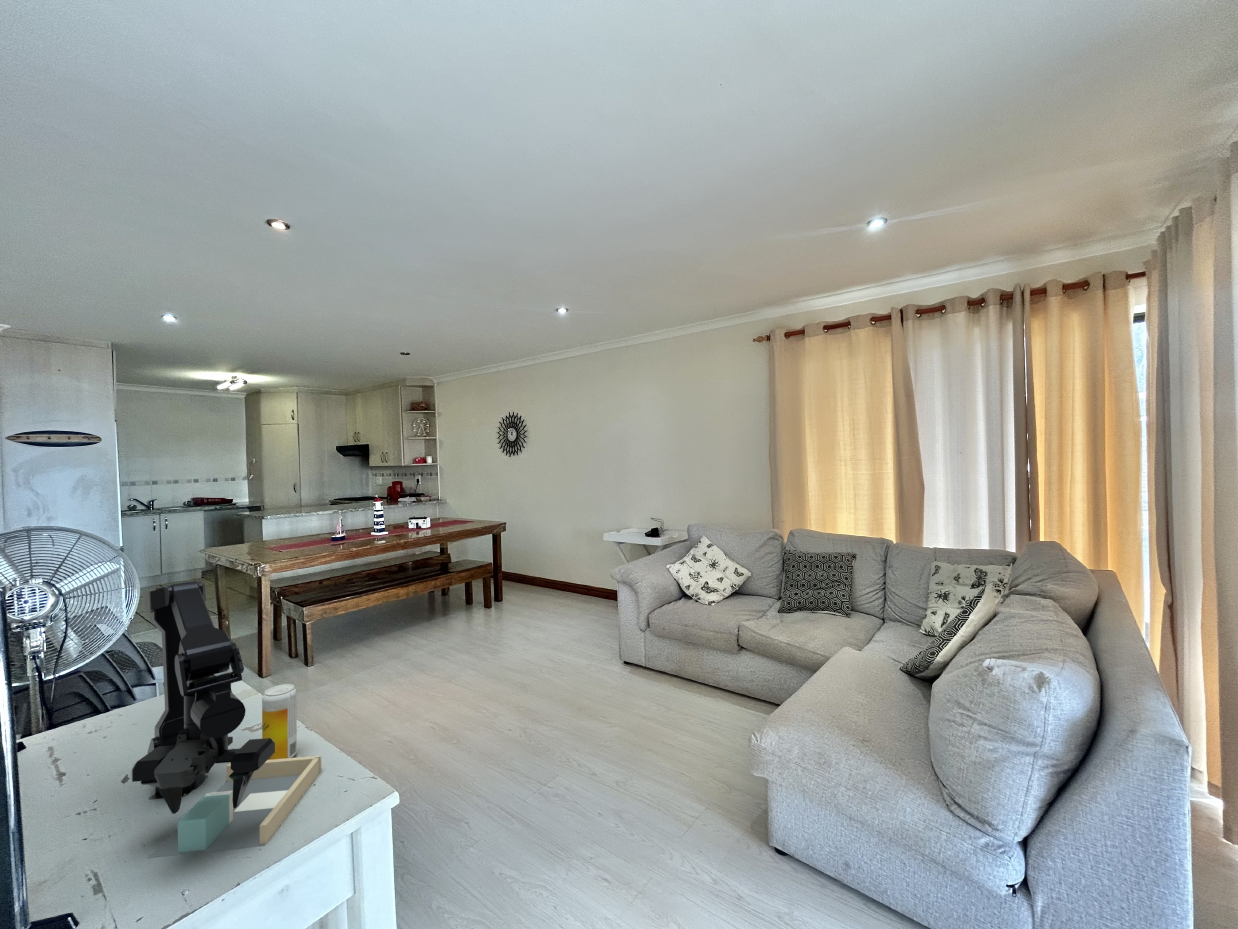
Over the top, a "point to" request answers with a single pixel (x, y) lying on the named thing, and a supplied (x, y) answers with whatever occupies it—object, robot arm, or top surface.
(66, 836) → the top surface
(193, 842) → the teal block
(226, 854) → the top surface
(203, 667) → the robot arm
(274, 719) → the beer can
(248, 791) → the board
